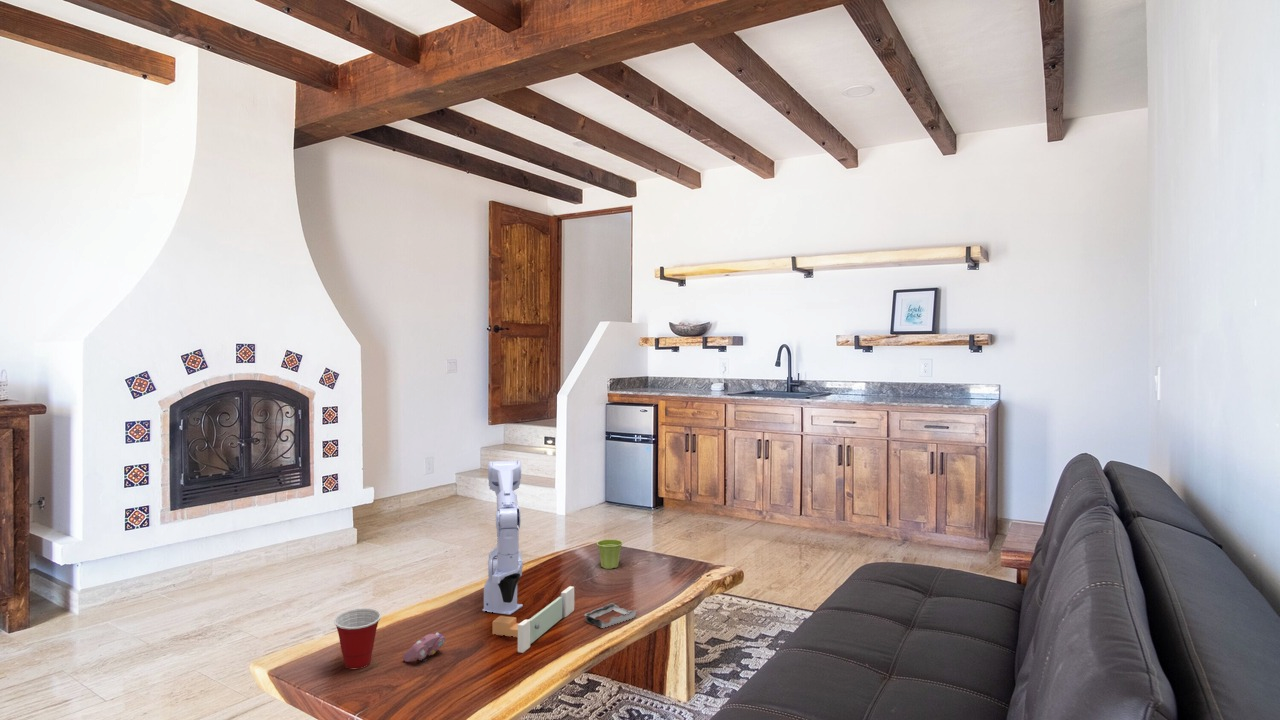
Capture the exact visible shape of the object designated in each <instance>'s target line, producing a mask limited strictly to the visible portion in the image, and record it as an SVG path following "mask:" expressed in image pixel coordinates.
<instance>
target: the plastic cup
mask: <svg viewBox="0 0 1280 720" xmlns="http://www.w3.org/2000/svg"><path fill="white" fill-rule="evenodd" d="M381 617H382V613H381V612H380V610H377V609H376V608H375V609H374V608H367V607H363V608H354V609H349V610H345V611H343V612H341V613H339V614H338V615H336V616H335V617H334V619H333V623H334V625H335V627H336V629H337V633H338V639H339V643H340V649H341V650H340V651H341V654H342V659H343V664H344V667H345V666H346V667H347V668H361V667H364V666H366V665H368V664H369V663H370V664H371V661H372V656H373V650H374V646H375V645H374V644H375V640H376V635H377V634H376V633H377V630H378V629H377V628H378V625H379V621H380V620H381ZM370 664H369V665H370ZM369 665H368V666H369ZM346 667H345V668H346ZM366 667H367V666H366ZM347 668H346V669H347ZM364 668H365V667H364ZM361 669H362V668H361Z"/></svg>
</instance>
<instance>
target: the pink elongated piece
mask: <svg viewBox="0 0 1280 720" xmlns="http://www.w3.org/2000/svg"><path fill="white" fill-rule="evenodd" d="M445 642H446V637H445V636H443V634H442V633H439V632H438V631H437V632H436V633H429V634H426V635H425V636H423V637H422V638H421V639H419V640H417V641H416V642H415V643H414V644H413V645H412V646H410V648H409V649H408V650H406V651H405V652H404V653H403V656H402V657H403V661H404V662H405V663H410V662H412V661H413V660H415V659H418V660H419V661H420V660H421V659H423V660H424V659H425V658H426V657H427V655H428V656H430V655H432V656H433V655H434V654H436V652H437V651H438V649H440V648H441V647H442V646H443V645H444V643H445ZM430 657H431V656H430ZM421 661H422V660H421Z"/></svg>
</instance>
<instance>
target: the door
mask: <svg viewBox="0 0 1280 720" xmlns="http://www.w3.org/2000/svg"><path fill="white" fill-rule="evenodd" d="M564 618H565V617H564V596H561V595H559V596H558V597H557V598H555V599H554V600H553V601H552V602H551V603H549V604H547V605H546V606H545V607H544V608H542V609H541V610H540V611H538V612H537V613H535V614H534V615H533V616H531V618H529V619H528V620H530V645H531V644H533V643H534V642H535V641H536V640H537V639H539V638H540V637H541V636H543V635H544V634H545V633H546V632H547V631H548V630H550V629H551V628H552V627H553V626H554V625H556V624H557V623H558V622H559V621H560V620H562V619H564Z"/></svg>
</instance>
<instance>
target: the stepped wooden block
mask: <svg viewBox="0 0 1280 720" xmlns="http://www.w3.org/2000/svg"><path fill="white" fill-rule="evenodd" d="M520 623H521V622H517V617H514V616H505V615H499V616H498V617H497V618H495V619H494V620H493V621H492V625H491V626H492V635H494V634H496V635H497V636H503V635H505V636H506V637H511V636H513V638H518V624H520ZM496 635H495V636H496Z"/></svg>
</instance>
